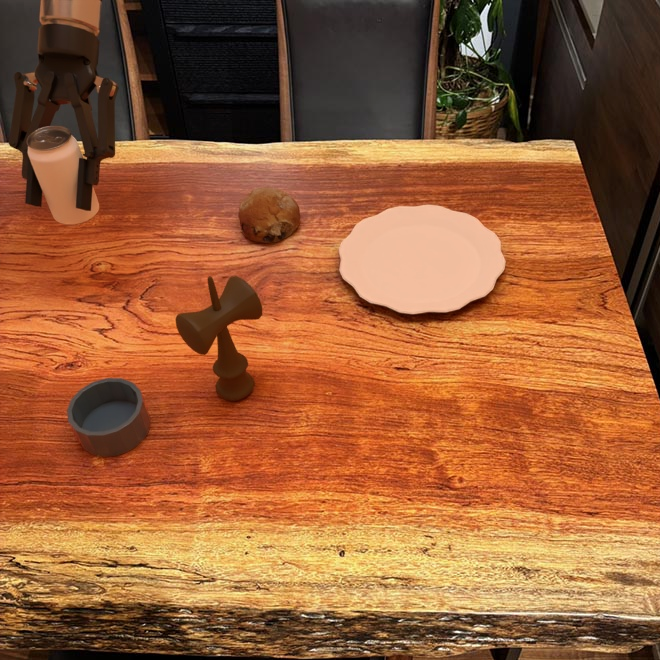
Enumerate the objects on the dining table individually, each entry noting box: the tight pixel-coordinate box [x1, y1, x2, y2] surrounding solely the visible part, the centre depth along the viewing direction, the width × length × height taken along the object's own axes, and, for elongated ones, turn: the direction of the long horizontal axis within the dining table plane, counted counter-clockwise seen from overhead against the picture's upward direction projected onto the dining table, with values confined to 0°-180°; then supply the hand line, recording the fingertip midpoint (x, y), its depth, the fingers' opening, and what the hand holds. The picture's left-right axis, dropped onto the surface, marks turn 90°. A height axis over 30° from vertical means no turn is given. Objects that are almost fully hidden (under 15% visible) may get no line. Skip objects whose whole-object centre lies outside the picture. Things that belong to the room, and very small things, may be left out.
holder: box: [66, 377, 151, 458], centre depth 102 cm, size 9×9×4 cm
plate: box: [337, 204, 507, 316], centre depth 122 cm, size 25×25×2 cm
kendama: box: [175, 275, 263, 402], centre depth 100 cm, size 6×10×20 cm, turn 138°
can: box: [27, 125, 100, 226], centre depth 108 cm, size 6×6×12 cm
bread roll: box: [238, 186, 301, 244], centre depth 129 cm, size 10×10×8 cm
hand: (58, 207), depth 108 cm, fingers closed on can, 6 cm apart
